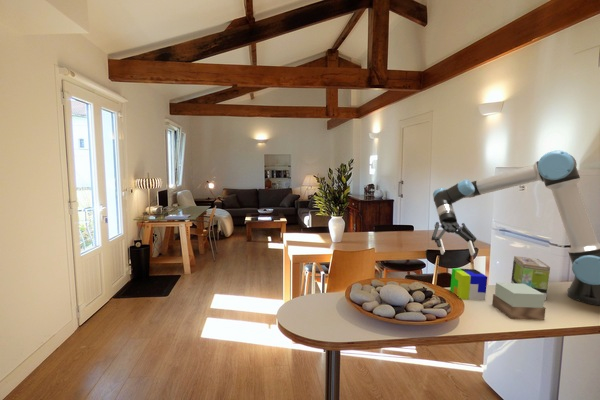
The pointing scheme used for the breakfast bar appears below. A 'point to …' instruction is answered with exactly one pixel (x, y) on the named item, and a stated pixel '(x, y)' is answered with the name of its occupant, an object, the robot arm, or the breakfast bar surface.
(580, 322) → the breakfast bar surface
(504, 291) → the grey-green top slab
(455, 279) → the puzzle toy
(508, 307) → the walnut base slab
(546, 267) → the tea box
